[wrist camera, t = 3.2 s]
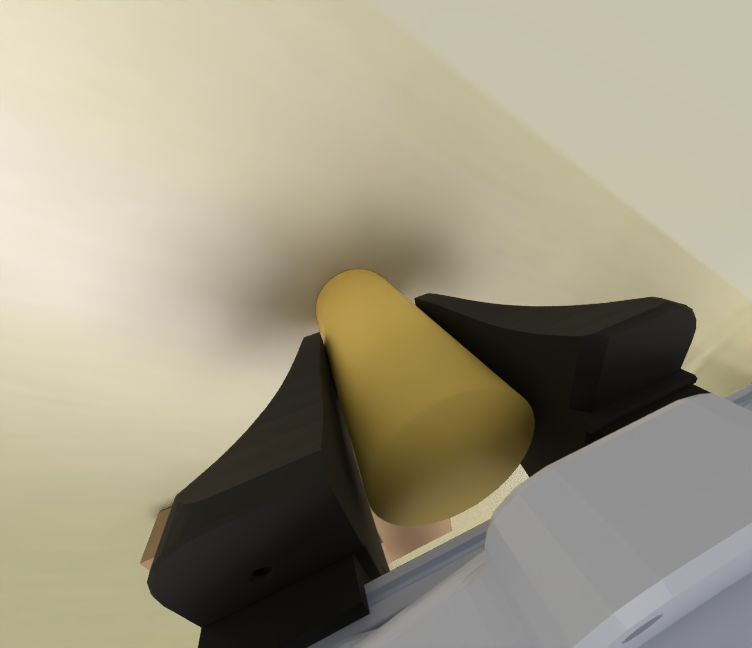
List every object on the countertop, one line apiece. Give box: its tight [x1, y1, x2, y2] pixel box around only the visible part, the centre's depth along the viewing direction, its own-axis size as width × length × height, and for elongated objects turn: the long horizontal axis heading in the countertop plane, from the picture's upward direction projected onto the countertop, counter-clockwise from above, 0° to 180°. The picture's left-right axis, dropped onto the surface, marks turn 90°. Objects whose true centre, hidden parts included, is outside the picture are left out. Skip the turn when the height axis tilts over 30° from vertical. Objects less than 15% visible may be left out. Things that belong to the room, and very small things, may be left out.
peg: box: [316, 269, 535, 526], centre depth 10 cm, size 4×4×9 cm
